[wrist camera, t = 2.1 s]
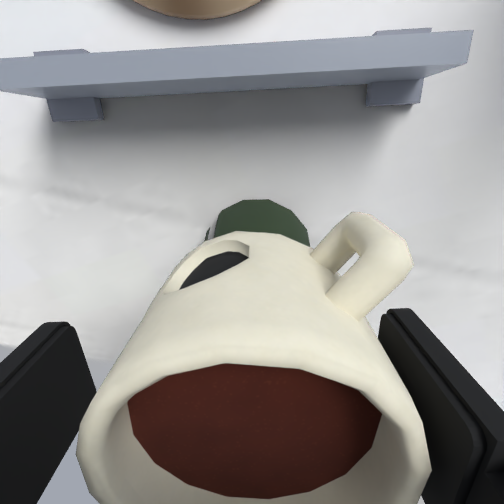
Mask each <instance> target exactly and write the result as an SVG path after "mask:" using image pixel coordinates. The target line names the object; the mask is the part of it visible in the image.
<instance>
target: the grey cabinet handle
mask: <svg viewBox="0 0 504 504" xmlns="http://www.w3.org/2000/svg"><path fill="white" fill-rule="evenodd" d="M431 29H432V28H418V29H401V30H385V31H377V32H375V33H374V34H373V35H372V36H365V37H348V38H332V39H315V40H298V41H282V42H265V43H249V44H232V45H216V46H199V47H182V48H166V49H149V50H133V51H116V52H100V53H90V52H88V51H86V50H84V49H74V50H57V51H41V52H33V53H34V56H33V57H17V58H0V91H3V92H9V93H15V94H21V95H27V96H33V97H39V98H46V99H47V103H48V107H49V110H50V114H51V117H52V121H54V122H68V121H87V120H104V116H103V111H102V107H101V102H100V98H115V97H134V96H152V95H171V94H190V93H208V92H227V91H245V90H264V89H283V88H301V87H320V86H339V85H357V84H368V87H367V98H366V106H384V105H404V104H417V103H420V99H421V93H422V87H423V80H424V78H425V77H428V76H431V75H434V74H437V73H440V72H443V71H446V70H448V69H451V68H454V67H457V66H460V65H463V64H466V63H467V60H468V55H469V50H470V45H471V40H472V35H473V30H464V31H448V32H431Z"/></svg>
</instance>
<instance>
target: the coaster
mask: <svg viewBox="0 0 504 504" xmlns="http://www.w3.org/2000/svg"><path fill="white" fill-rule="evenodd" d="M133 1H135V2H137V3H139V4H140V5H142V6H144V7H146V8H148V9H150V10H153V11H156V12H159V13H162V14H165V15H167V16H172V17H177V18H183V19H201V20H206V19H213V18H219V17H225V16H228V15H231V14H234V13H237V12H240V11H243V10H245V9H247V8H249V7H251V6H253V5H255V4H257V3H259V2H260V1H261V0H133Z"/></svg>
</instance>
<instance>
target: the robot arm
mask: <svg viewBox="0 0 504 504" xmlns="http://www.w3.org/2000/svg"><path fill="white" fill-rule="evenodd" d="M378 340H379V342H380V343H381V345H382V347H383V349H384V350H385V352H386V354H387V356H388V357H389V359H390V361H391V363H392V364H393V366H394V368H395V370H396V371H397V373H398V375H399V377H400V378H401V380H402V382H403V384H404V385H405V387H406V389H407V391H408V392H409V394H410V396H411V398H412V400H413V402H414V405H415V407H416V409H417V411H418V414H419V416H420V418H421V420H422V423H423V427H424V433H425V438H426V443H427V448H428V453H429V458H430V464H431V469H432V471H431V473H430V476H429V478H428V480H427V482H426V485H425V487H424V489H423V492H422V494H421V496H422V498H423V500H424V502H425V504H504V411H503V410H502V409H501V408H500V407H499V406H498V405H497V404H496V402H495V401H494V400H493V399H492V398H491V397H490V396H489V395H488V394H487V393H486V391H485V390H484V389H483V388H482V387H481V386H480V385H479V384H478V383H477V381H476V380H475V379H474V378H473V377H472V376H471V375H470V374H469V373H468V371H467V370H466V369H465V368H464V367H463V366H462V365H461V364H460V363H459V361H458V360H457V359H456V358H455V357H454V356H453V355H452V354H451V353H450V351H449V350H448V349H447V348H446V347H445V346H444V345H443V344H442V343H441V341H440V340H439V339H438V338H437V337H436V336H435V335H434V334H433V333H432V332H431V330H430V329H429V328H428V327H427V326H426V325H425V324H424V323H423V322H422V320H421V319H420V318H419V317H418V316H417V315H416V314H415V313H414V312H413V311H412V310H411V309H409V308H400V309H389V310H388V311H387V314H383V315H382V316H381V321H380V328H379V334H378ZM96 393H97V392H96V388H95V385H94V382H93V379H92V376H91V374H90V371H89V368H88V365H87V362H86V359H85V356H84V353H83V350H82V347H81V344H80V341H79V338H78V335H77V332H76V330H75V328H74V327H72V326H70V324H69V323H68V322H47V323H44V324H42V325H41V326H40V327H39V328H38V329H37V330H35V331H34V332H33V333H32V334H31V335H30V336H29V337H28V338H27V339H26V340H25V341H24V342H22V343H21V344H20V345H19V346H18V347H17V348H16V349H15V350H14V351H13V352H12V353H11V354H10V355H8V356H7V357H6V358H5V359H4V360H3V361H2V362H1V363H0V504H37V502H38V500H39V499H40V497H41V495H42V493H43V492H44V490H45V488H46V487H47V485H48V483H49V481H50V480H51V478H52V476H53V474H54V473H55V471H56V469H57V467H58V466H59V464H60V462H61V460H62V459H63V457H64V455H65V453H66V452H67V450H68V448H69V446H70V445H71V443H72V441H73V440H74V438H75V436H76V434H77V432H78V431H79V427H80V423H81V421H82V419H83V417H84V415H85V413H86V411H87V409H88V407H89V405H90V403H91V401H92V400H93V398H94V396H95V395H96Z"/></svg>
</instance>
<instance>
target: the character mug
mask: <svg viewBox="0 0 504 504" xmlns="http://www.w3.org/2000/svg"><path fill="white" fill-rule="evenodd" d="M209 230H210V228H209V229H208V231H207V233H206V237H205V242H204V243H202V244H201V245H200V246H198V247H197V248H195V249H194V250H193V251H191V252H190V253H188V254H187V255H186V256H185V257H184V258H183V259H182V260H181V261H180V263H179V264H178V265H177V266H176V267H175V268H174V270H173V271H172V273H171V275H170V276H169V278H168V279H167V281H166V282H165V283H164V285H163V286H162V287H161V289H160V290H159V292H158V293H157V295H156V296H155V298H154V300H153V301H152V303H151V305H150V306H149V308H148V310H147V312H146V314H145V316H144V318H143V319H142V321H141V322H140V324H139V326H138V327H137V329H136V330H135V332H134V334H133V335H132V337H131V338H130V340H129V341H128V343H127V345H126V346H125V348H124V349H123V351H122V353H121V354H120V356H119V357H118V359H117V361H116V362H115V364H114V365H113V367H112V369H111V370H110V372H109V373H108V375H107V377H106V378H105V380H104V381H103V383H102V385H101V386H100V388H99V390H98V391H97V393H96V395H95V396H94V398H93V400H92V401H91V403H90V405H89V407H88V409H87V411H86V413H85V415H84V417H83V419H82V421H81V423H80V427H79V434H78V442H77V449H76V456H77V459H78V462H79V465H80V468H81V470H82V473H83V476H84V479H85V482H86V484H87V487H88V490H89V493H90V494H91V495H92V496H93V497H94V498H95V499H96V500H97V501H98V502H99V503H100V504H417V503H418V501H419V498H420V496H421V494H422V492H423V489H424V487H425V485H426V482H427V480H428V478H429V476H430V473H431V471H432V469H431V464H430V458H429V453H428V448H427V443H426V438H425V433H424V427H423V423H422V420H421V418H420V416H419V414H418V411H417V409H416V407H415V405H414V402H413V400H412V398H411V396H410V394H409V392H408V391H407V389H406V387H405V385H404V384H403V382H402V380H401V378H400V377H399V375H398V373H397V371H396V370H395V368H394V366H393V364H392V363H391V361H390V359H389V357H388V356H387V354H386V352H385V350H384V349H383V347H382V345H381V343H380V342H379V340H378V338H377V336H376V335H375V333H374V331H373V329H372V328H371V326H370V324H369V322H368V321H367V319H366V317H365V316H366V315H367V314H368V313H369V312H370V311H371V310H372V309H374V308H375V307H376V306H377V305H378V304H379V303H380V302H381V301H382V300H383V299H384V298H385V297H387V296H388V295H389V294H390V293H391V292H392V291H393V290H394V289H395V288H396V287H397V286H398V285H400V284H401V283H402V282H403V280H404V279H405V278H406V276H407V275H408V273H409V272H410V270H411V269H412V267H413V266H414V263H413V260H412V257H411V254H410V252H409V249H408V246H407V243H406V241H405V239H403V238H402V237H401V236H399V235H398V234H397V233H395V232H394V231H392V230H391V229H390V228H388V227H387V226H386V225H384V224H383V223H382V222H380V221H379V220H378V219H376V218H375V217H373V216H372V215H370V214H365V213H361V212H351V213H350V214H349V215H347V216H346V217H345V218H344V219H343V220H341V221H340V222H339V223H338V224H337V225H336V226H335V227H334V228H333V229H332V230H331V231H330V232H329V233H328V235H327V236H326V237H325V238H324V239H323V240H322V241H321V242H320V243H319V245H318V246H317V247H316V248H315V249H313V248H310V243H309V238H308V233H307V229H306V228H305V227H304V225H303V224H302V223H301V222H300V220H299V219H298V218H297V217H296V216H295V214H294V213H293V212H292V211H291V210H289V209H287V208H285V207H283V206H281V205H279V204H277V203H275V202H273V201H271V200H268V199H266V200H242V201H240V202H238V203H236V204H234V205H232V206H230V207H228V208H226V209H224V210H222V211H221V213H220V214H219V216H218V220H217V224H216V228H215V235H214V238H213V239H210V240H207V239H208V234H209ZM355 252H357V253H358V255H359V256H360V257H359V259H358V260H357V262H356V263H355V264H354V265H353V266H352V267H351V268H350V269H349V270H348V271H347V272H346V273H345V274H344V275H343V276H342V277H341V275H340V274H339V273H338V272H337V271H338V270H339V269H340V268H341V267H342V266H343V265H344V264H345V263H346V262H347V261H348V260H349V259H350V258H351V257H352V256H353V255H354V254H355Z"/></svg>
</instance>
